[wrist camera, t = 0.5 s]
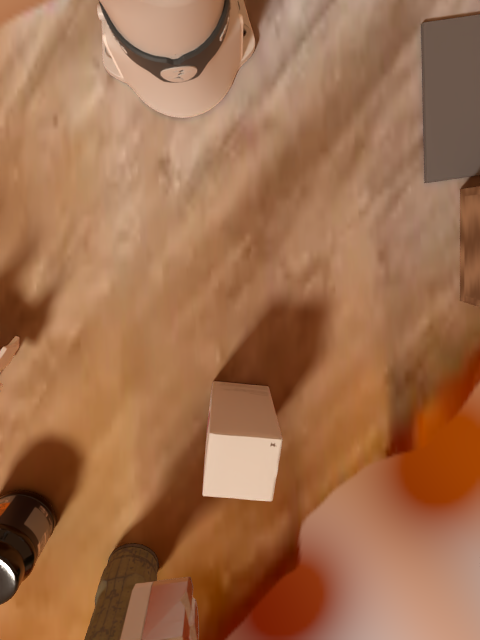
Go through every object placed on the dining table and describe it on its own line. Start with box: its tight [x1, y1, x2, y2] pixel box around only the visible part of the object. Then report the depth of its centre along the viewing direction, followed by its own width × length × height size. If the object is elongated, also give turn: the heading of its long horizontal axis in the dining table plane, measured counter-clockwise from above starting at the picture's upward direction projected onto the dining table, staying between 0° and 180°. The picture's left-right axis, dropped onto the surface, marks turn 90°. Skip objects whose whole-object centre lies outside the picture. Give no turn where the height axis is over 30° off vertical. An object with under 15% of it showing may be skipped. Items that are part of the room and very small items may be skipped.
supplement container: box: [0, 491, 56, 605], centre depth 57 cm, size 10×10×12 cm
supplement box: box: [202, 381, 283, 501], centre depth 52 cm, size 9×9×15 cm
